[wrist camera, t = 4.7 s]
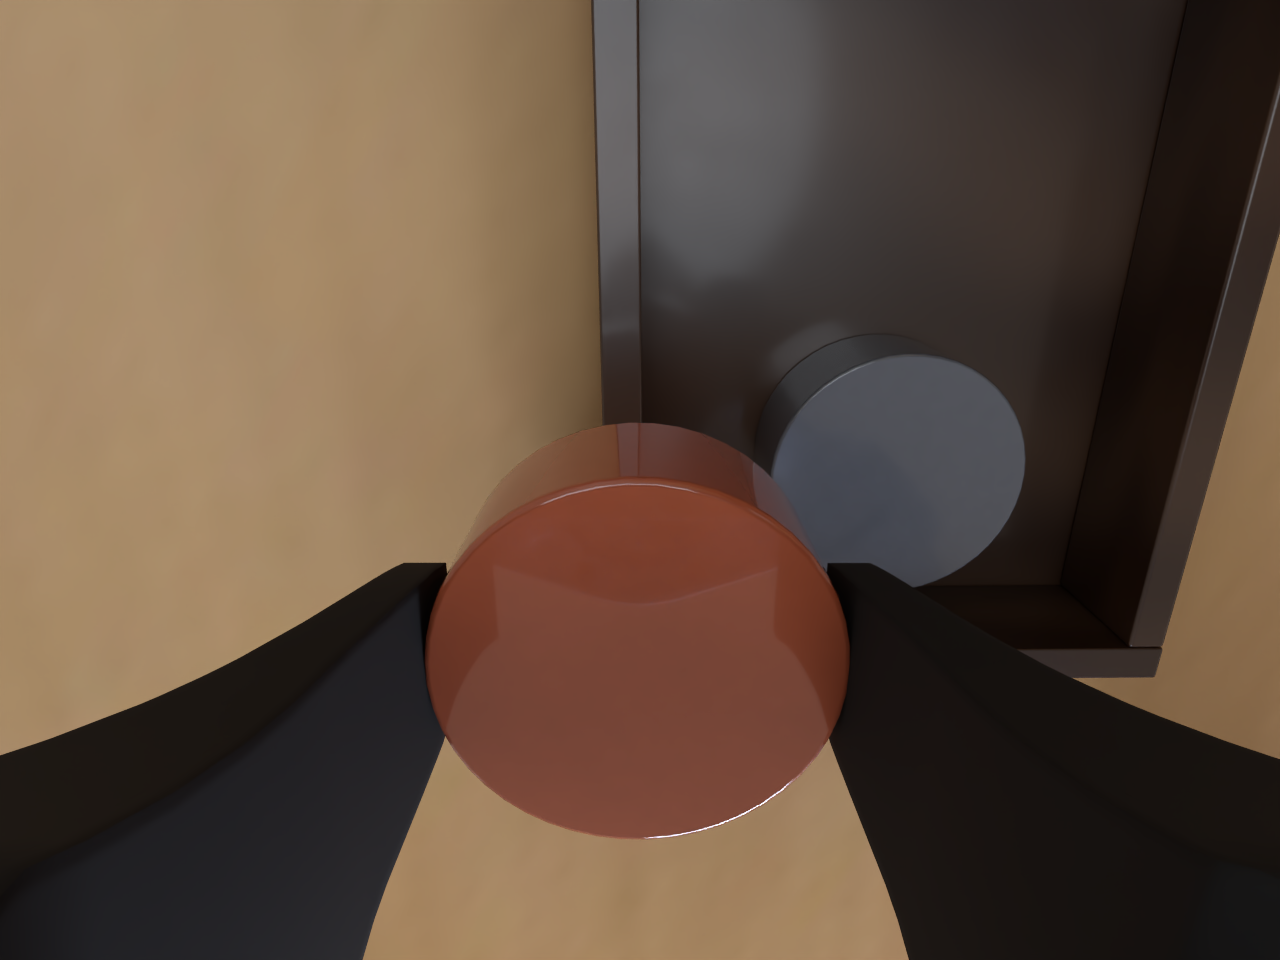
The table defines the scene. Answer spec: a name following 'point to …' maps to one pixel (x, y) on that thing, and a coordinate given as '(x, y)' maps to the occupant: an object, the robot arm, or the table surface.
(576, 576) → the terracotta coaster
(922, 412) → the gray and black puck
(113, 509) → the table surface
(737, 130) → the dark brown tray
